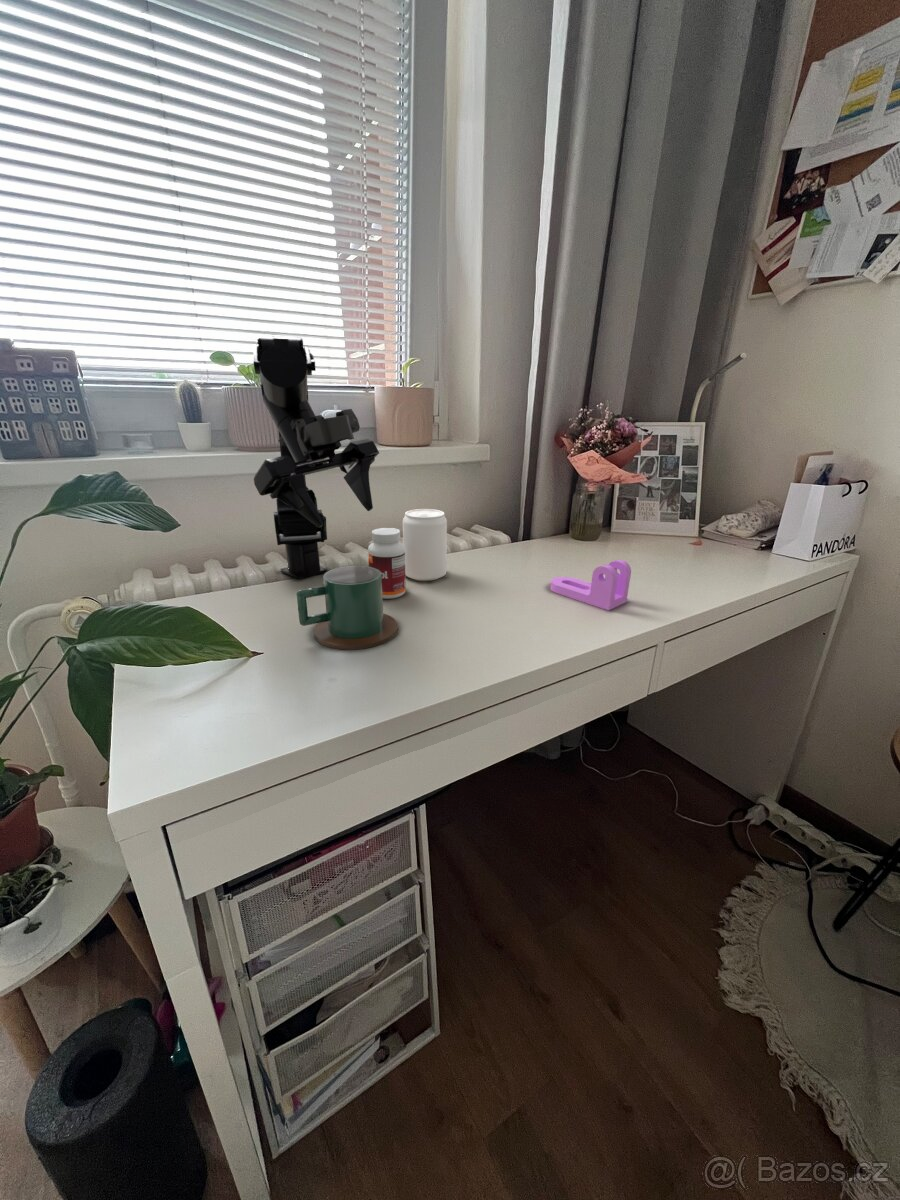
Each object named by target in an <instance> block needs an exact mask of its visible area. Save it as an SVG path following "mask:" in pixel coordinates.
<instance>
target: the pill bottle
mask: <svg viewBox="0 0 900 1200" xmlns="http://www.w3.org/2000/svg"><path fill="white" fill-rule="evenodd" d="M371 540H372V541H373V542H371V543H370V544H369V545H368V548H367V556H368V557H367V558H368V560H367V561H368V567H372V568H375V569H378V570H379V571H380V572H381V574H382V595H383V599H386V600H387V599H388V600H390V599H397V598H399V597H401V596H403V595H404V594H405V593H406V588H407V586H406V585H407V583H406V579H407V578H406V575H405V547H404V545H403V542H401V541H400V540H401V530H400V529H398V528H394V527H380V528H375V529H373V530H371Z"/></svg>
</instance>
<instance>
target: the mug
mask: <svg viewBox="0 0 900 1200" xmlns="http://www.w3.org/2000/svg"><path fill="white" fill-rule="evenodd" d="M322 580H323V585H322V586H316V587H309V588H303V589H299V590H297V591H296V595H295V596H296V605H297V612H298V613H297V614H298V620H299V621H298V622H299V625H301V626H303V627H306V626H310V625H316V624H317V623H321V622H326V621H327V625H328V631H329V633H330V634H332V635H334V636H336V637H339V638H345V639H359V638H365V637H369V636H372V635H375V634H377V633H378V632H380V631H381V630H382V629H383V627H384V618H383V613H384V598H383V595H382V574H381V572H380V571H379V570H378V569H375V568H372V567H369V566H366V565H348V566H347V565H346V566H340V567H335V568H332V569H330V570H327V571H326V572H324V574H323V576H322ZM321 596H324V603H325V612H322V613H318V614H312V615H309V613H308V605H307V604H308V603H307V599H308V598H314V597H321Z"/></svg>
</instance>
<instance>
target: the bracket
mask: <svg viewBox="0 0 900 1200" xmlns="http://www.w3.org/2000/svg"><path fill="white" fill-rule="evenodd" d="M618 570H619V572H618ZM631 575H632V569H631V565H630V564H629V563H628V561H626V560H624V559H616V560H613V561H611V562H609V563H608V564H602V565H600V566H597V567H596V568H594V570H593V571H592V574H591V582H589V581H586V580H582V579H579V578H576V577H570V576H556V577H553V578H551V580H550V590H551V591H552V593H556V594H559V595H561V596H564V597H567V598H570V599H573V600H576V601H579V602H581V603H584V604H588V605H591V606H594V607H596V608H599V609H602V610H605V611H610V610H613V609H615V608H617V607H620V606H622V605H624V604H626V603H627V601H628V595H629V588H630V582H631Z"/></svg>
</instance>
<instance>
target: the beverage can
mask: <svg viewBox="0 0 900 1200" xmlns="http://www.w3.org/2000/svg"><path fill="white" fill-rule="evenodd" d="M402 544H403V545H404V547H405V577H407V578H410V579H412V580H415V581H420V582H421V581H422V582H429V581H435V580H438V579H440V578H443V577H444V576H445V575H446V574H447V562H448V561H447V554H448V553H447V552H448V549H447V545H448V519H447V518H446V516H445V512H444V511H443V510H439V509H434V508H433V509H432V508H417V509H410V510H407V511H405V513H404V516H403V518H402Z"/></svg>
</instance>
